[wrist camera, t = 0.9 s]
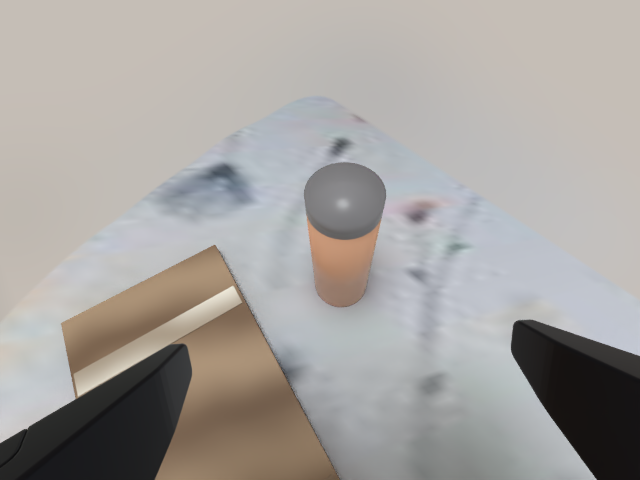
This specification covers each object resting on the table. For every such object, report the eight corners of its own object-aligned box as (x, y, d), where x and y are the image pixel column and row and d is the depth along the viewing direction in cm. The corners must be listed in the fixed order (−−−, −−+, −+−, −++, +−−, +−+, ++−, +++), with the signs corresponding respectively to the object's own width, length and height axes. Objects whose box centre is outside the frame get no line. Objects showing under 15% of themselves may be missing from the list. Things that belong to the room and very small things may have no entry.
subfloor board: (403, 599, 16) (407, 610, 15) (174, 818, 13) (161, 848, 12) (218, 250, 27) (214, 244, 26) (70, 327, 24) (60, 322, 23)
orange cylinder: (376, 289, 25) (403, 201, 15) (333, 317, 24) (332, 240, 14) (347, 251, 26) (354, 151, 17) (305, 275, 25) (289, 183, 16)
